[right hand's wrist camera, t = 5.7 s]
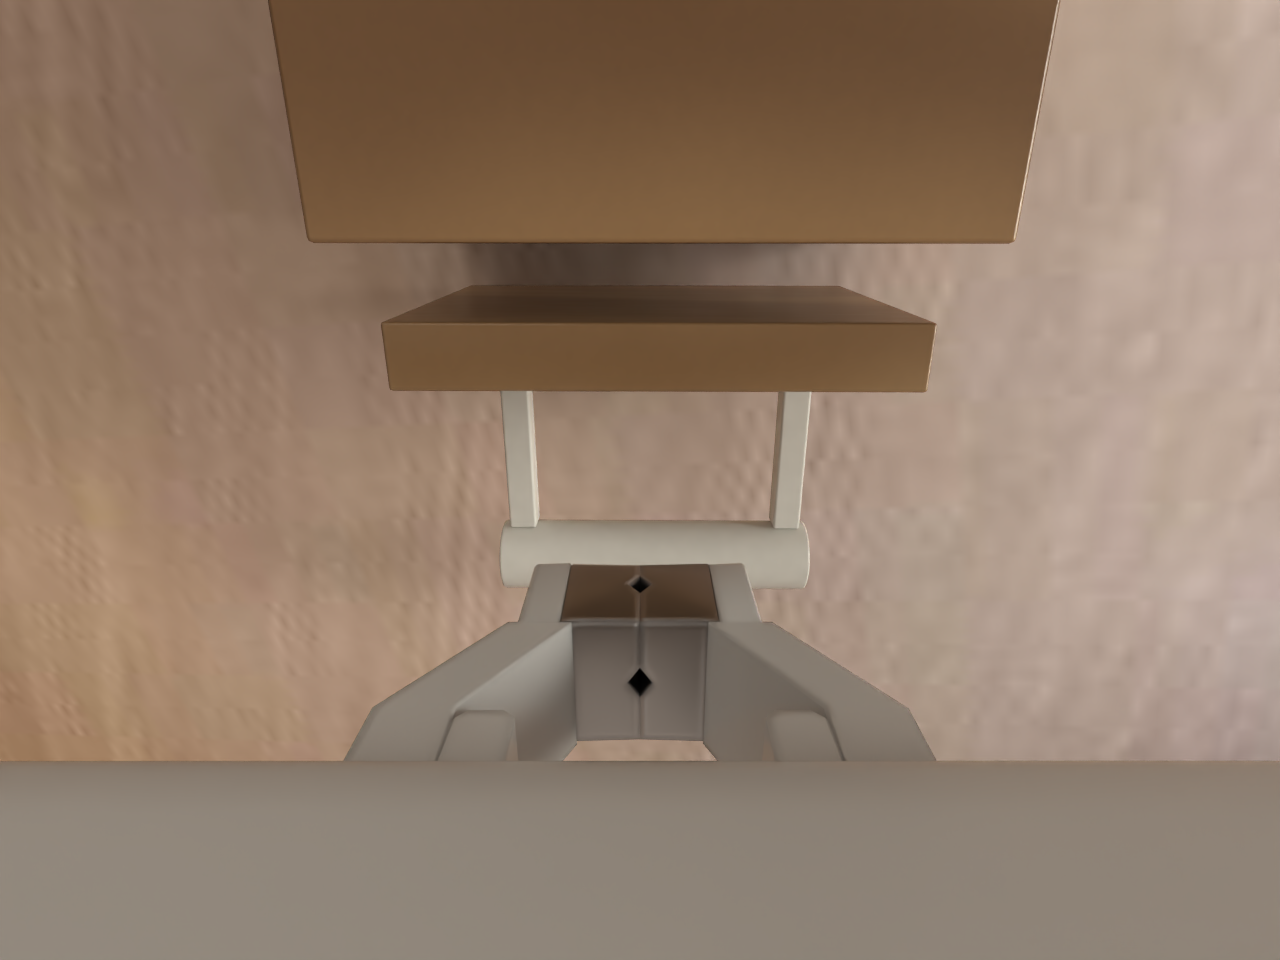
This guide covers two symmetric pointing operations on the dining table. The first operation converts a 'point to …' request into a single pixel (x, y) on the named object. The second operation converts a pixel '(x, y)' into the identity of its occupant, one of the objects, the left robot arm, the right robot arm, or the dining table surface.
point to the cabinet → (663, 119)
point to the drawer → (658, 361)
